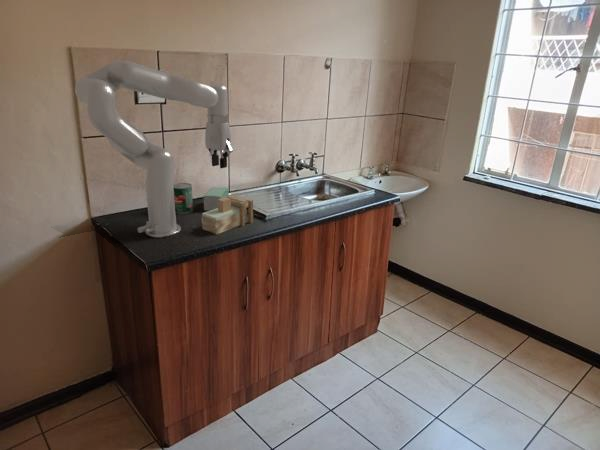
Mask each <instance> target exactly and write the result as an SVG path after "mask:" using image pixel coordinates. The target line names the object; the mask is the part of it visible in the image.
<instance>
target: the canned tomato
mask: <svg viewBox="0 0 600 450" xmlns="http://www.w3.org/2000/svg"><path fill="white" fill-rule="evenodd" d="M173 188H174V200H175V214H181V215H183V214H184V215H185V214H189V213H192V212H194V202H193V185H192V184H191V183H187V182H178V183H173Z"/></svg>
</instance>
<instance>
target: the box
mask: <svg viewBox="0 0 600 450" xmlns="http://www.w3.org/2000/svg"><path fill="white" fill-rule="evenodd" d="M227 196H229V188H227V187H212V188H210V189H209V190H208V192H206V193H205V194H203V210H204V211H205V212H208V211H211V210H214V209H217V208H218V199H221V198H222V197H227Z"/></svg>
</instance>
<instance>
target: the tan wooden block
mask: <svg viewBox="0 0 600 450" xmlns="http://www.w3.org/2000/svg"><path fill="white" fill-rule="evenodd" d="M227 198H230V199H231V205H234V206H237V207H240V202H244V203H245V208H246V209H247V208H248V200H249V199H247V198H243V197H239V196H233V195H232V194H230V195H229V194H228V196H227Z"/></svg>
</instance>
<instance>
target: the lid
mask: <svg viewBox="0 0 600 450" xmlns="http://www.w3.org/2000/svg"><path fill="white" fill-rule="evenodd" d="M245 210H247V208H245ZM237 213H240V207H237V206H234V205H231V199H230V198H227V197H225V198H221V199H218V208H217V209H214V210H211V211H205V212H202V213H201V217H202V216H204V217H207V218H210V219H213V220H216V221H217V220H220V219H223V218H225V217H228V216H231V215H234V214H237Z"/></svg>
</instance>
